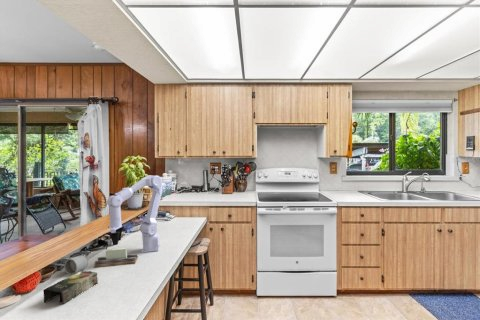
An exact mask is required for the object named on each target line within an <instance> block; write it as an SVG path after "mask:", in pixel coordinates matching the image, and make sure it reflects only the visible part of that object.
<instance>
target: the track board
mask: <svg viewBox="0 0 480 320" xmlns="http://www.w3.org/2000/svg"><path fill="white" fill-rule="evenodd" d="M138 259H139V255H138V253H131V254H127V258H120V259H109V260H106V256H99V257H97V260H95V261H94V265H93V268H95V269H96V268H105V267H114V266H122V265H132V264H133V265H135V264H136V263H137V260H138Z"/></svg>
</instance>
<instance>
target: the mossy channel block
mask: <svg viewBox="0 0 480 320" xmlns="http://www.w3.org/2000/svg"><path fill="white" fill-rule="evenodd" d="M96 284H97V285H98V284H99V278H98V272H97V271H91V270H88V271H83V270H81V271H79V272H77V273H75V274H73V275H70V276H68V277H66V278H64V279H62V280H60V281H58V282H56V283H54V284H53V285H50V286H48V287H46V288H44V289H43V290H42V292H43V303H44V304H46V303H47V302H48V301H50V300H52V299H54V298H56V297H58V296H59V300H58V303H60V304H64V303H67V302H68V301H71V300H73V299H75V298H77V297H78V295H79V294H80V295H81V293H82V292H83V293H85V292H87V291H89V290H90V289H92V288H93V287H95V286H97V285H96ZM94 285H95V286H94ZM91 287H92V288H91ZM89 288H90V289H89ZM84 291H85V292H84ZM83 293H82V294H83ZM80 295H79V296H80ZM76 296H77V297H76ZM74 297H75V298H74ZM72 298H73V299H72ZM46 301H47V302H46Z"/></svg>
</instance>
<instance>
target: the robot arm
mask: <svg viewBox="0 0 480 320" xmlns="http://www.w3.org/2000/svg"><path fill="white" fill-rule="evenodd" d="M145 186H146V187H148V188H149V189H150V190H151V191H152V195H151V197H150V200H149V201H150V202H149V205H148V209H147V214H146V217H145V218H144V219H143V220H142V223H141V224H140V225H139V230H140V231H139V232H140V233H141V235H142V236H141V238H142V240H141V241H142V250H141V253H149V252H159V249H160V247H161V245H160V234H159V233H157V231H158V228H157V225H158V222H157V220H156V219H157V215H158V210H159V207H160V203H161V199H162V196H163V195H162V194H163V179H162V178H161V176H160V175H150V174H149V175H145V176H144V177H142V179H140V180H138V181H137V182H135V184H133V185H132V186H130V187H122V188H121V190H120V191H118V192H115V193H114V195H110V196H108V198H107V200H106V204H107V205H108V209H109V210H108V211H109V226H107V228H108V229H110V231H109V232H108V233H107V234H108V236H109V237H110V240H111V242H112V245H113V246H118V245H119V241H121V240H122V236H123V235H122V234H123V230H124V228H125V226H123V224H122V210H121V209H122V208H121V205H122V204H123V203H124V202H125V201H127V200H128V199H130V198H131V197H132V196H133V194H134V193H135V192H137V191H138V190H141V189H142V188H143V187H145Z"/></svg>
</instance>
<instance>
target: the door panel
mask: <svg viewBox="0 0 480 320" xmlns="http://www.w3.org/2000/svg"><path fill="white" fill-rule="evenodd" d="M127 250H128V249H127V247H119V248H111V249H106V250H105V257H106V260H109V259H120V258H127V255H128V252H127Z"/></svg>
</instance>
